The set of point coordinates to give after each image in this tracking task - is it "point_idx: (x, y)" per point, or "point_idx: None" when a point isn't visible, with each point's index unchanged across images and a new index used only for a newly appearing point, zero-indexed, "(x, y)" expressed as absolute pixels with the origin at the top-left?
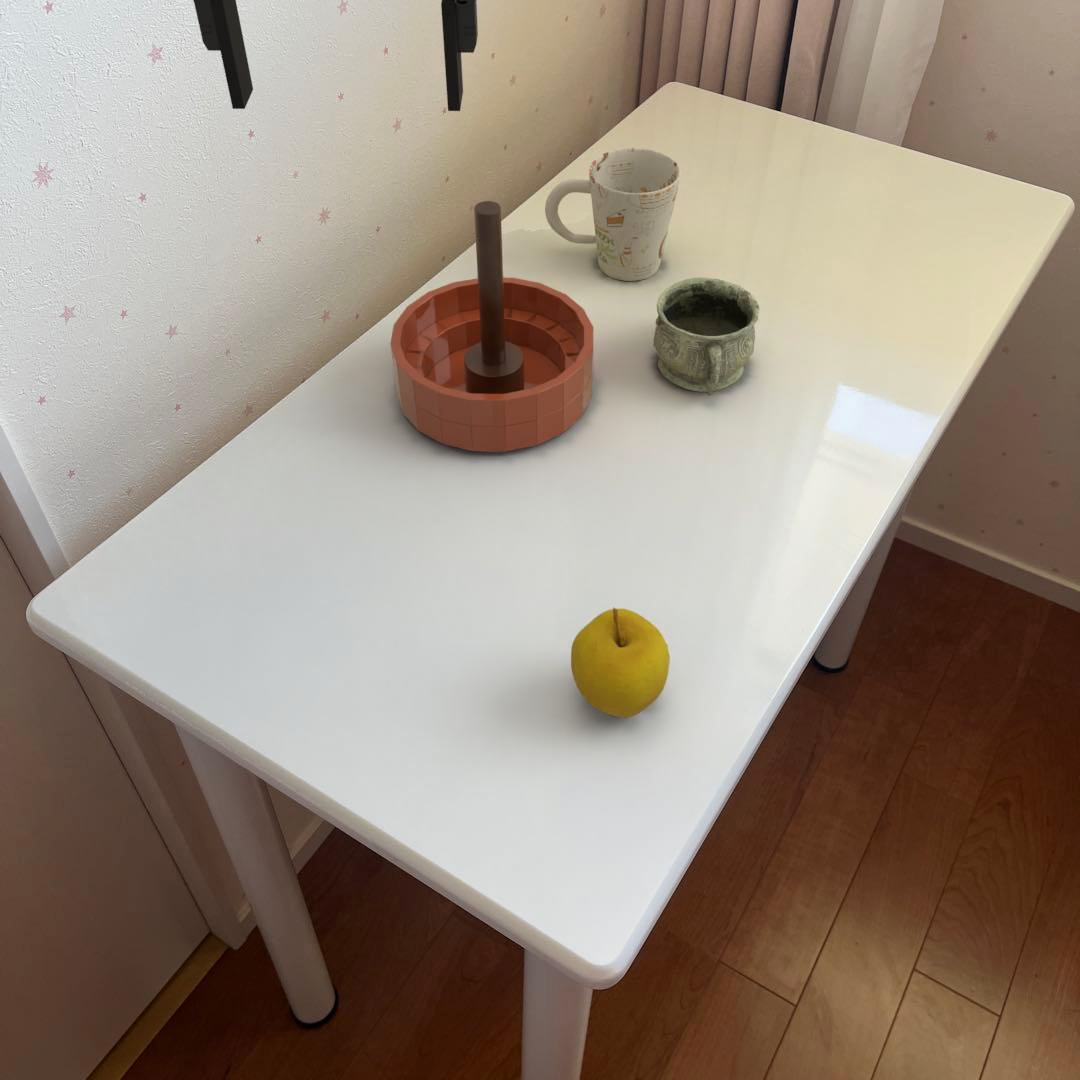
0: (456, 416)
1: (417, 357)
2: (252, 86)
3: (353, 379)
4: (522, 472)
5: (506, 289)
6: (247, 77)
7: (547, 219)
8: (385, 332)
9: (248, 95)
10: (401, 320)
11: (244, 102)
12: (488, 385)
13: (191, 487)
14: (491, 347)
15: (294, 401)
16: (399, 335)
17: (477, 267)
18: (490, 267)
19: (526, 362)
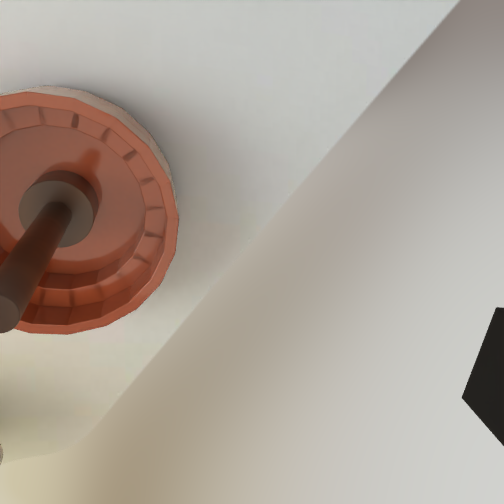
0: (97, 103)
1: (150, 225)
2: (466, 401)
3: (222, 230)
4: (25, 55)
5: (40, 319)
6: (497, 404)
7: (1, 450)
8: (190, 301)
9: (483, 359)
10: (166, 258)
11: (500, 322)
12: (64, 177)
13: (382, 80)
14: (52, 209)
15: (281, 201)
16: (167, 231)
17: (43, 263)
18: (19, 253)
19: None
